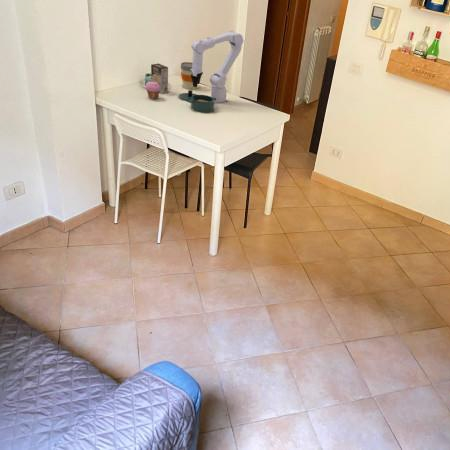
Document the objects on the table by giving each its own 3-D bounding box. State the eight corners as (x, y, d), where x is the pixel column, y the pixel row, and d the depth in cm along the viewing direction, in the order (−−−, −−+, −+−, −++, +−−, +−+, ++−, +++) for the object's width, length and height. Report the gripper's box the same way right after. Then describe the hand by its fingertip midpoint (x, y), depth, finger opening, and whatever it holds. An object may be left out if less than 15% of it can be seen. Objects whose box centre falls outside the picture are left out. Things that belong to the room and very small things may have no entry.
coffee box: (150, 89, 279) (150, 64, 270) (158, 88, 284) (158, 63, 275) (161, 93, 275) (160, 68, 267) (168, 92, 280) (168, 66, 272)
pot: (183, 106, 262) (183, 96, 259) (208, 103, 274) (208, 93, 271) (195, 114, 255) (196, 103, 252) (221, 110, 267) (221, 100, 264)
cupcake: (153, 101, 262) (152, 84, 256) (142, 97, 265) (142, 80, 259) (163, 98, 268) (163, 82, 263) (153, 94, 271) (153, 78, 266)
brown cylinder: (209, 108, 267) (210, 100, 265) (208, 109, 263) (209, 101, 261) (196, 106, 266) (196, 98, 265) (194, 107, 262) (195, 99, 260)
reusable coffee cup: (190, 91, 289) (190, 68, 281) (176, 85, 294) (176, 63, 286) (203, 88, 299) (203, 66, 291) (189, 83, 304) (190, 61, 296)
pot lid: (174, 95, 276) (174, 88, 274) (193, 93, 286) (193, 86, 283) (186, 102, 269) (187, 95, 266) (205, 100, 278) (206, 93, 276)
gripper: (193, 59, 267) (192, 81, 274) (188, 64, 254) (187, 87, 261) (204, 61, 267) (203, 83, 274) (200, 66, 255) (199, 89, 262)
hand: (196, 85), depth 268 cm, fingers open, 7 cm apart
